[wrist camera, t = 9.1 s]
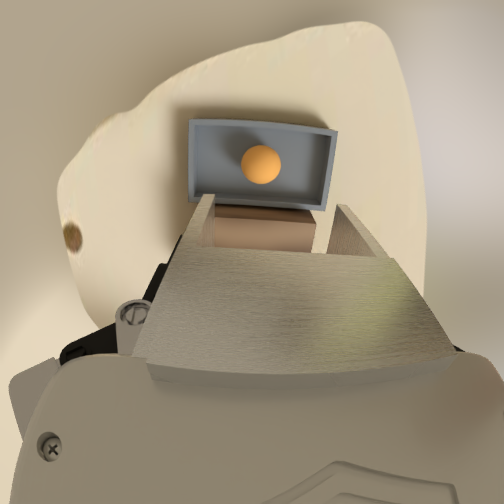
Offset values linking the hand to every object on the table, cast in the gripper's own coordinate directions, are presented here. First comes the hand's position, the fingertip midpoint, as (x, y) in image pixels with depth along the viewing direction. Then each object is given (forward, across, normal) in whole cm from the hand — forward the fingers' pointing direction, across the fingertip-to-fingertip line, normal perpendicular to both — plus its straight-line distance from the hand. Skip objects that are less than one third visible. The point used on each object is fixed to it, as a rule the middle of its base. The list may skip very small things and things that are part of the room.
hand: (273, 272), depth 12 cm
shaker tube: (+2, 0, 0) cm, 2 cm away
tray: (+20, 0, -1) cm, 20 cm away
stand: (+20, 0, +9) cm, 22 cm away
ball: (+18, 0, -1) cm, 18 cm away
